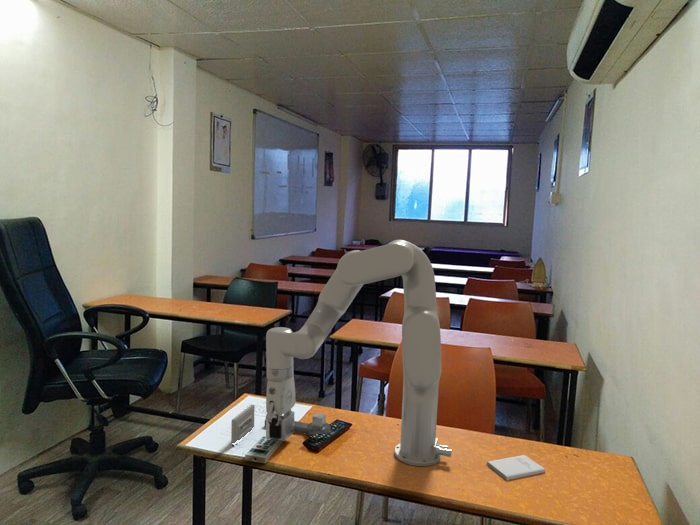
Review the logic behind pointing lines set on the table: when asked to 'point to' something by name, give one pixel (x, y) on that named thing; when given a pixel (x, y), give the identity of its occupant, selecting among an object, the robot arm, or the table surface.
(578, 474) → the table surface
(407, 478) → the table surface
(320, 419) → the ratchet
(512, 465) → the external hard drive
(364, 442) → the table surface
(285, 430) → the grey block
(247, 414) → the cassette
